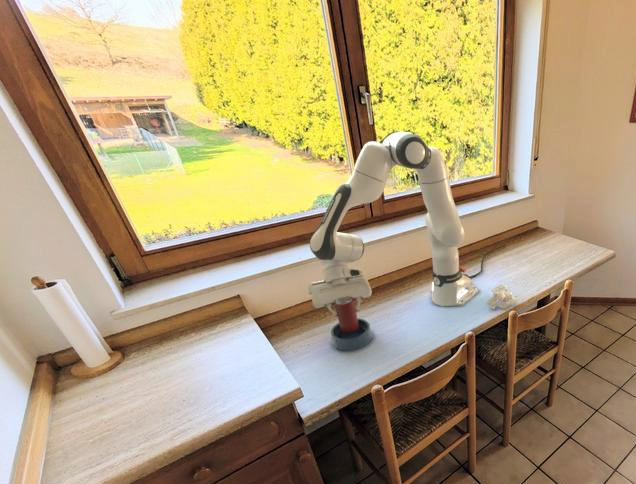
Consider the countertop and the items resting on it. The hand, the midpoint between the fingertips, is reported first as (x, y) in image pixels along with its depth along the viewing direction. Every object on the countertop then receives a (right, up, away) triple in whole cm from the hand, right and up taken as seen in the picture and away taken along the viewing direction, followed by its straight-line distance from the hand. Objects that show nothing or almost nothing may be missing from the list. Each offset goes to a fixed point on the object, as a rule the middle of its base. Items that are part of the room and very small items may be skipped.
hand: (347, 313), depth 128 cm
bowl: (0, -10, +7) cm, 13 cm away
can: (0, -5, +4) cm, 6 cm away
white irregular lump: (+57, +2, +29) cm, 64 cm away
